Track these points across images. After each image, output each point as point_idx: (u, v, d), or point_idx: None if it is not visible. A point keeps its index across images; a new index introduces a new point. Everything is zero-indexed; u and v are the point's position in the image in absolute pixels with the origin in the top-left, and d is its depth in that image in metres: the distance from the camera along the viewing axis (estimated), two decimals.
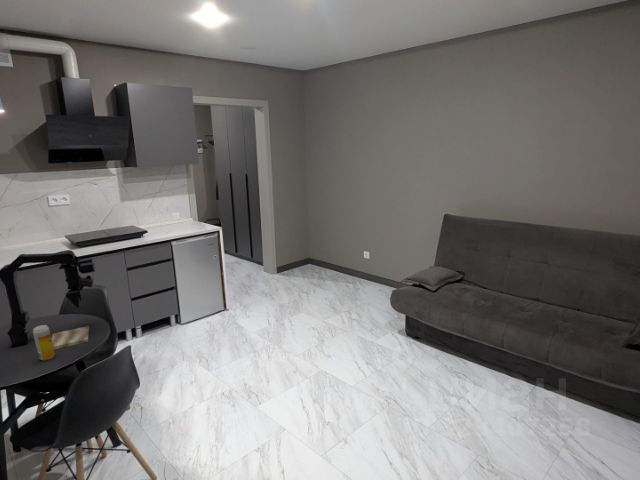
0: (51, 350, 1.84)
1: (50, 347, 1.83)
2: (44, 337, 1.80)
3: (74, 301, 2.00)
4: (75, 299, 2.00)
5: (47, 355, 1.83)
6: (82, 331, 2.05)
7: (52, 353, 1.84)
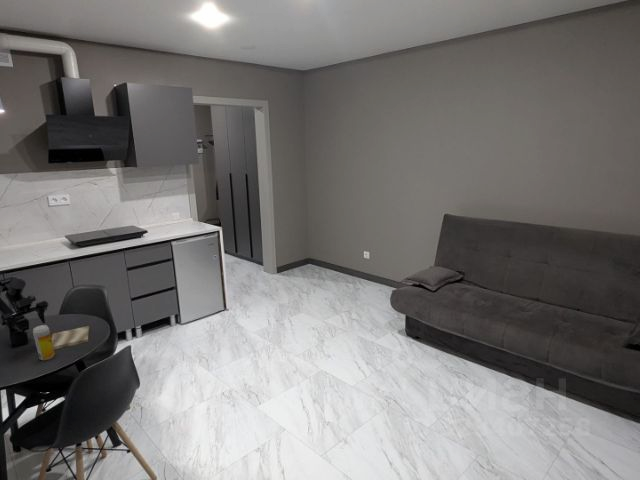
0: (51, 350, 1.84)
1: (50, 347, 1.83)
2: (43, 337, 1.80)
3: (14, 326, 1.82)
4: (14, 324, 1.82)
5: (47, 355, 1.83)
6: (82, 331, 2.05)
7: (52, 353, 1.84)
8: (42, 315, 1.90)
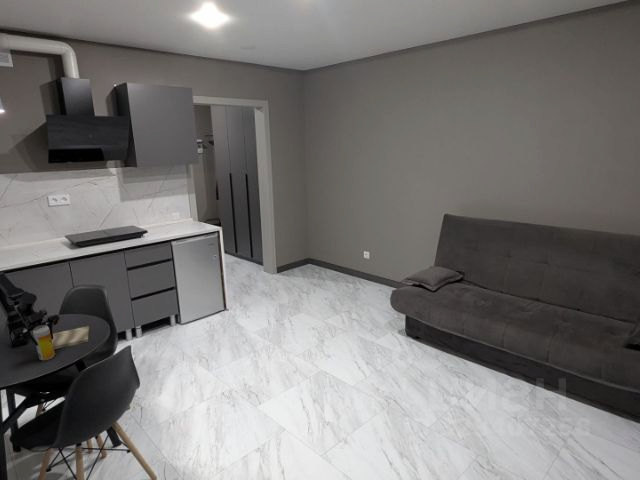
0: (51, 350, 1.84)
1: (50, 347, 1.83)
2: (44, 337, 1.80)
3: (29, 340, 1.80)
4: (29, 338, 1.80)
5: (47, 355, 1.83)
6: (82, 331, 2.05)
7: (52, 353, 1.84)
8: (50, 331, 1.85)
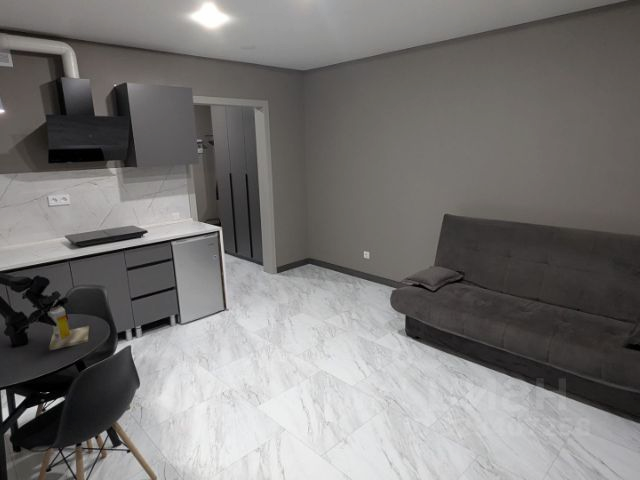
0: (68, 329, 1.91)
1: (67, 327, 1.91)
2: (62, 317, 1.88)
3: (47, 321, 1.86)
4: (46, 319, 1.85)
5: (65, 335, 1.90)
6: (82, 331, 2.05)
7: (69, 333, 1.92)
8: None
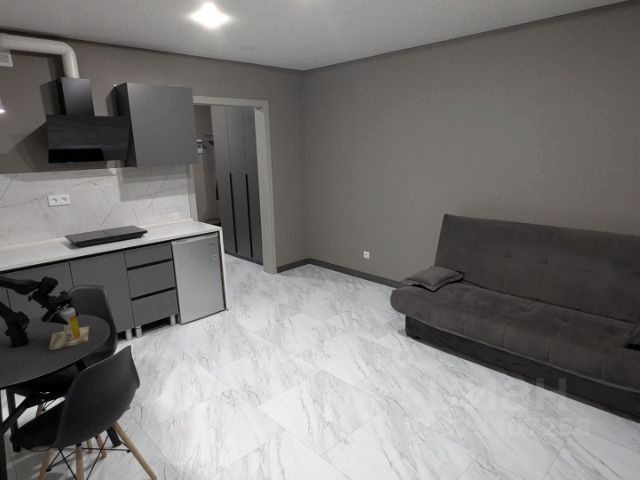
0: None
1: (78, 326, 1.99)
2: (74, 317, 1.96)
3: (58, 321, 1.91)
4: (57, 319, 1.91)
5: (77, 334, 1.98)
6: (82, 331, 2.05)
7: (79, 332, 2.00)
8: (74, 309, 2.01)
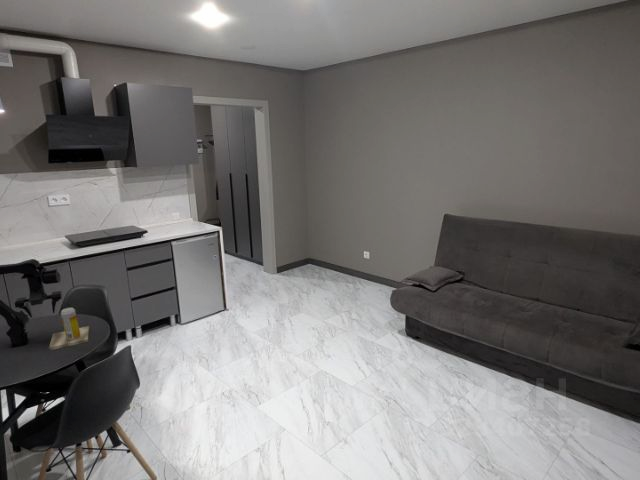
0: None
1: (78, 326, 1.99)
2: (74, 317, 1.96)
3: None
4: None
5: (77, 334, 1.98)
6: (82, 331, 2.05)
7: (79, 332, 2.00)
8: (53, 307, 1.99)
